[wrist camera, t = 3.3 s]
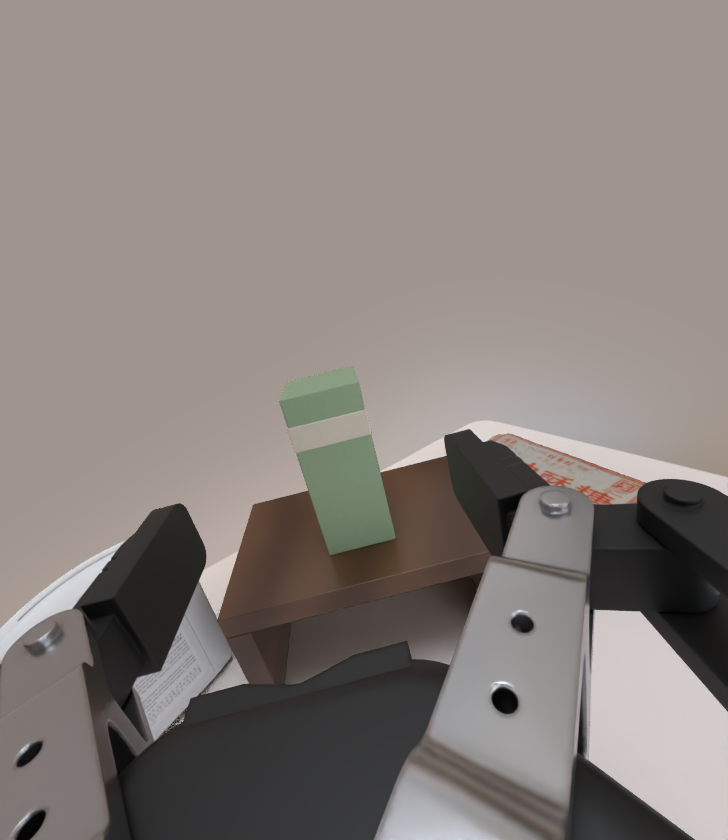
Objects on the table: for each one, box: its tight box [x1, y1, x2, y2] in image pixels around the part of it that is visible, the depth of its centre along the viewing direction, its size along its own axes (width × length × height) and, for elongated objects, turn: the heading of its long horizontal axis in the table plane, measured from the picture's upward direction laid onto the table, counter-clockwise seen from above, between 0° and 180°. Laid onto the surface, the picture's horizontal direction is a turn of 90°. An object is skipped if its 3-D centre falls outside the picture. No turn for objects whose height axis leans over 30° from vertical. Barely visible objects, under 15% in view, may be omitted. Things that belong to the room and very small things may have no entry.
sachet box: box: [279, 366, 396, 555], centre depth 24 cm, size 5×4×11 cm
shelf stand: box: [217, 456, 491, 685], centre depth 29 cm, size 18×12×8 cm, turn 96°
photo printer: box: [0, 541, 232, 741], centre depth 24 cm, size 10×4×12 cm, turn 145°
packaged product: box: [488, 434, 646, 505], centre depth 35 cm, size 18×5×10 cm
